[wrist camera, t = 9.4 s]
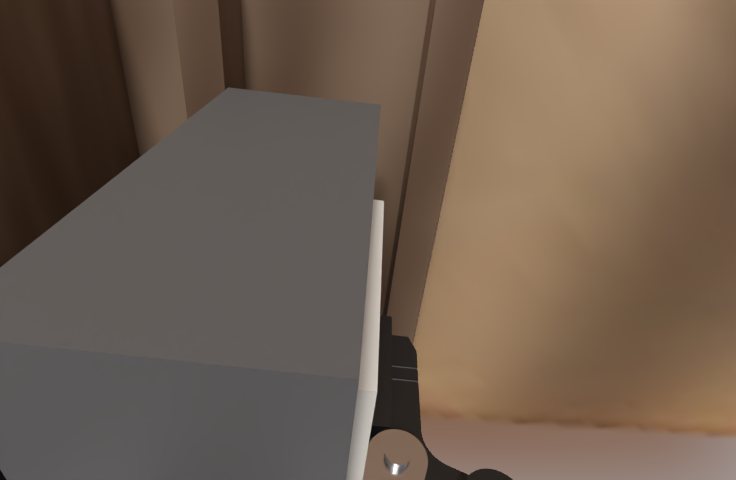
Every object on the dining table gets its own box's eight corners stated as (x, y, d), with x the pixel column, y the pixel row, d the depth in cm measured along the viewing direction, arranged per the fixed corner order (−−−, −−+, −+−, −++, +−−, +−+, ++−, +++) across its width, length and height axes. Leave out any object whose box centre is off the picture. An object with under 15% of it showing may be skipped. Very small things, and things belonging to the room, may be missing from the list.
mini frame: (392, 106, 12) (392, 382, 4) (354, 401, 18) (327, 723, 10) (228, 87, 12) (-84, 333, 4) (248, 390, 18) (144, 705, 10)
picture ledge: (468, -24, 14) (566, 5, 6) (395, 368, 24) (395, 578, 16) (85, -66, 14) (-333, -96, 6) (169, 344, 24) (54, 544, 16)
